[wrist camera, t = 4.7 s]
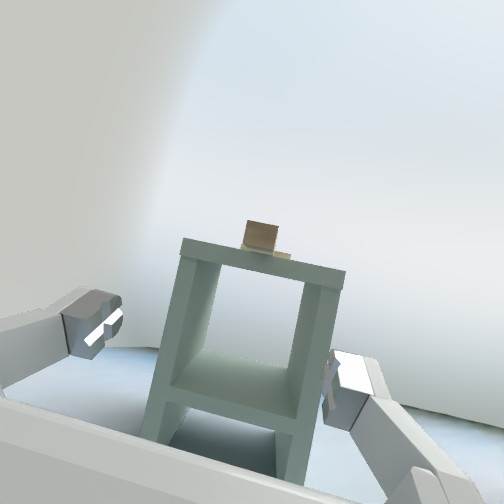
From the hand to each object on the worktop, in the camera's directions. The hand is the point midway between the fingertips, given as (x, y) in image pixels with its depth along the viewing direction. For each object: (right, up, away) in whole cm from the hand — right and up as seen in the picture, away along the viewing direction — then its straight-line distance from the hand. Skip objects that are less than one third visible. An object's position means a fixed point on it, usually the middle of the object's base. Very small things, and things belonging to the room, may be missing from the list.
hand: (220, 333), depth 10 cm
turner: (+3, +3, +21) cm, 21 cm away
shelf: (-3, -23, +24) cm, 33 cm away
